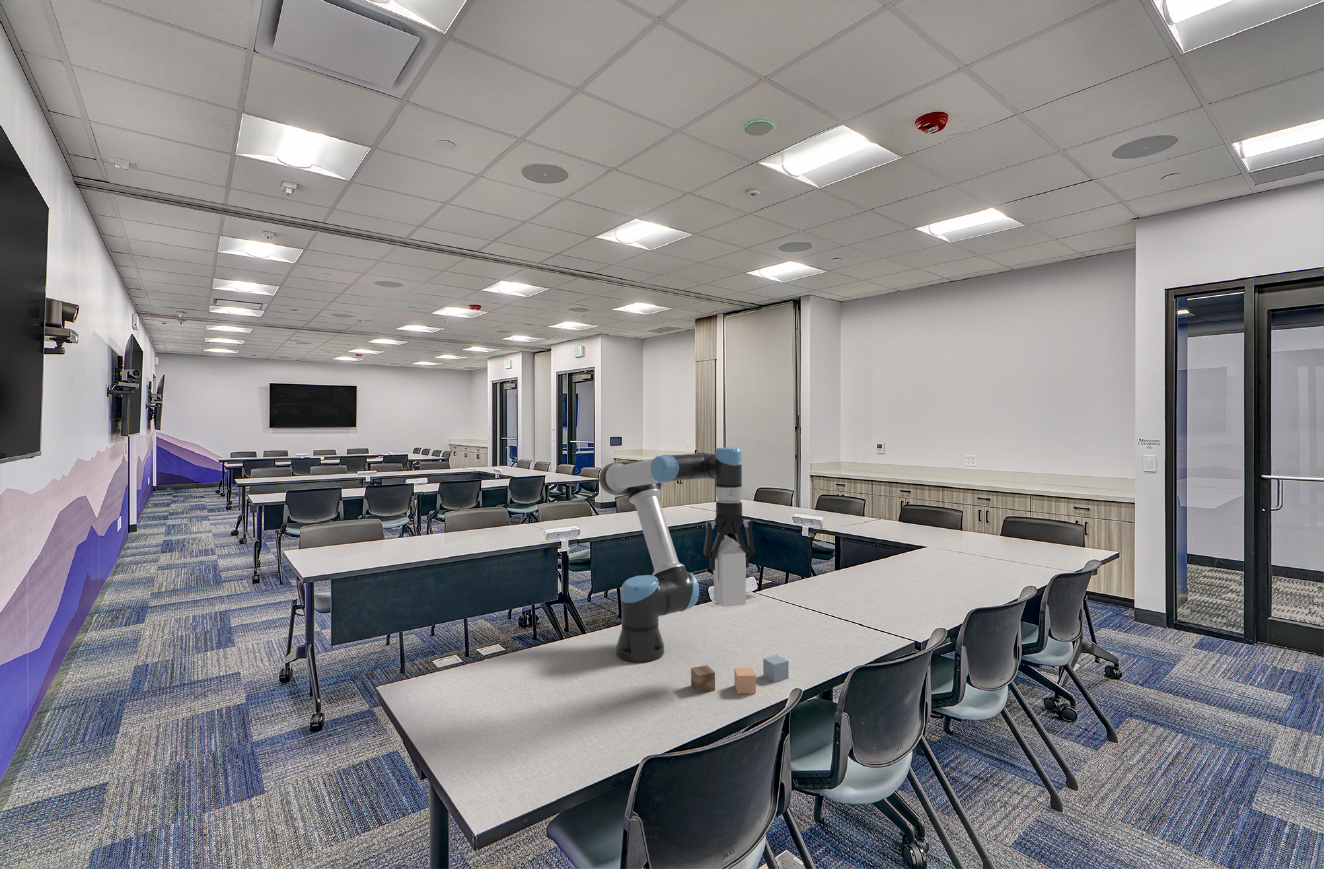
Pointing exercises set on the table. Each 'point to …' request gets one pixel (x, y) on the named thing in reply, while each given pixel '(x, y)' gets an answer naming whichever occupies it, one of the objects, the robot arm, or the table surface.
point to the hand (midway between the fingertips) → (729, 579)
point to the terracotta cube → (744, 680)
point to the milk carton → (730, 574)
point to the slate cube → (775, 668)
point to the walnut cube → (703, 679)
